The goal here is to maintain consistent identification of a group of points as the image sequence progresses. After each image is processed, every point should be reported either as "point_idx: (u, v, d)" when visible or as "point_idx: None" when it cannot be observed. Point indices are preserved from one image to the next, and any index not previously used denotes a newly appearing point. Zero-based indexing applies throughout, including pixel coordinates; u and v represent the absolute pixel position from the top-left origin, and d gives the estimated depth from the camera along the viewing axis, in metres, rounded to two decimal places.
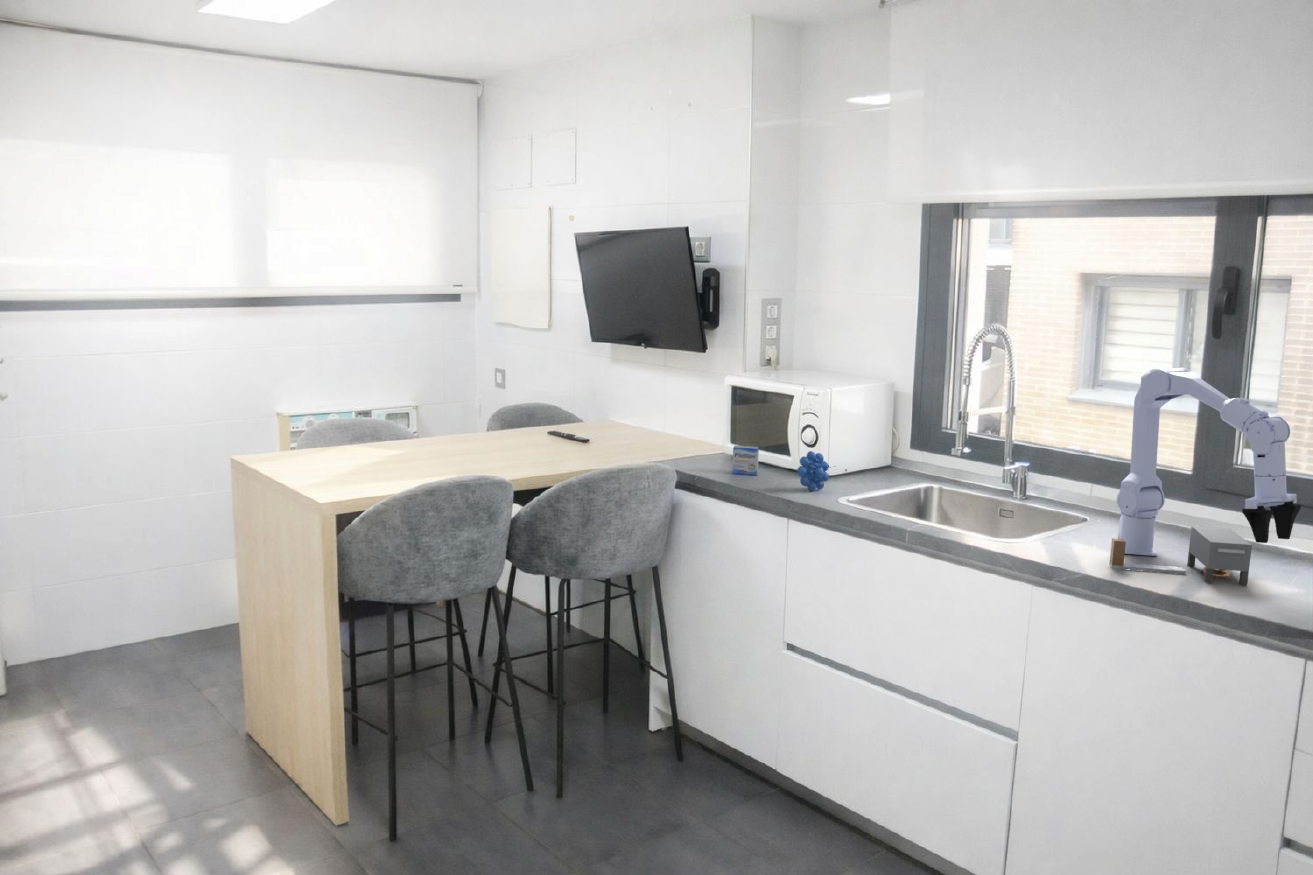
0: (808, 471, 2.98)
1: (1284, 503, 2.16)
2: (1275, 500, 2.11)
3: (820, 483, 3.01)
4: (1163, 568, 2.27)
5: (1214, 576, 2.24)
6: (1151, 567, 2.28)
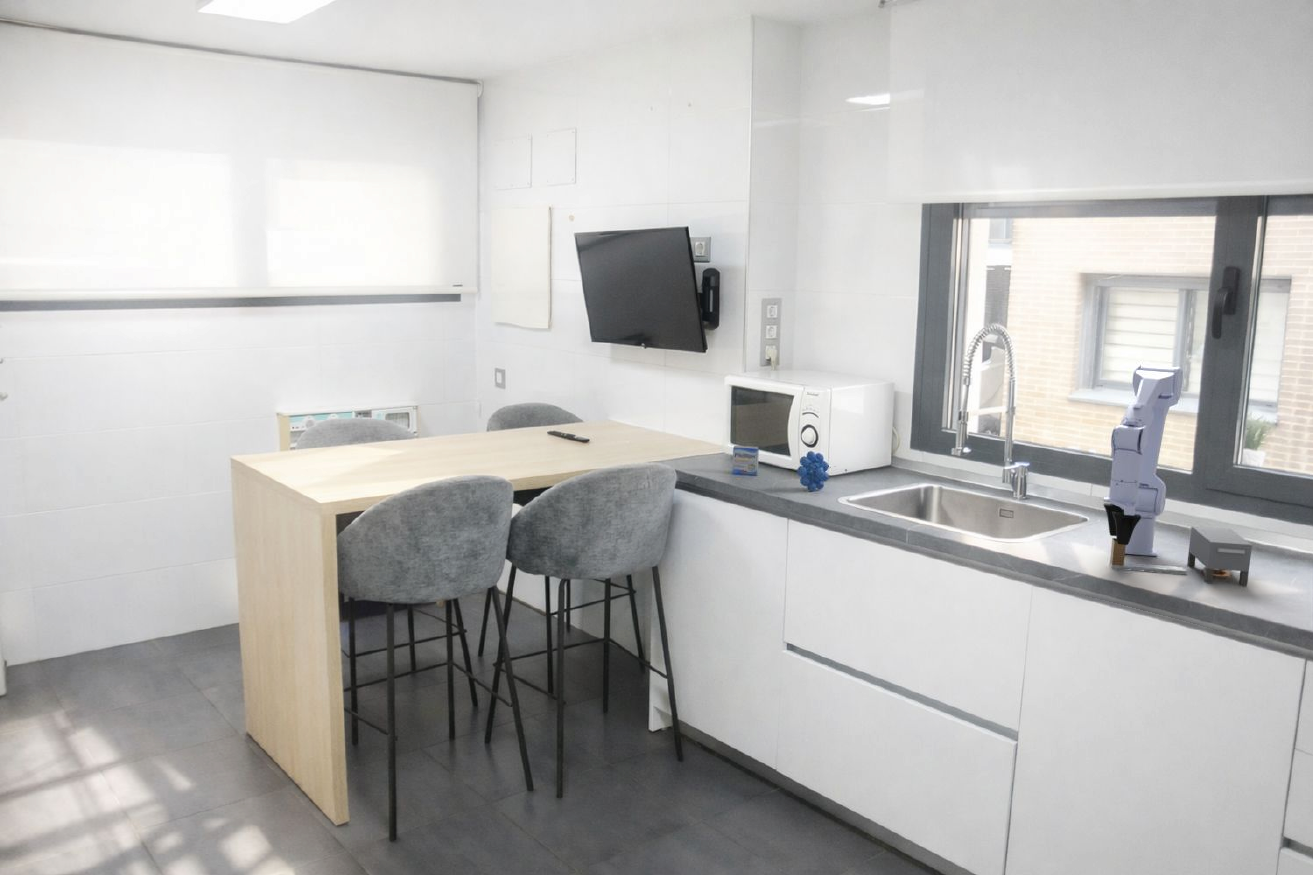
0: (808, 471, 2.98)
1: None
2: None
3: (820, 483, 3.01)
4: (1163, 568, 2.27)
5: (1214, 576, 2.24)
6: (1151, 567, 2.28)
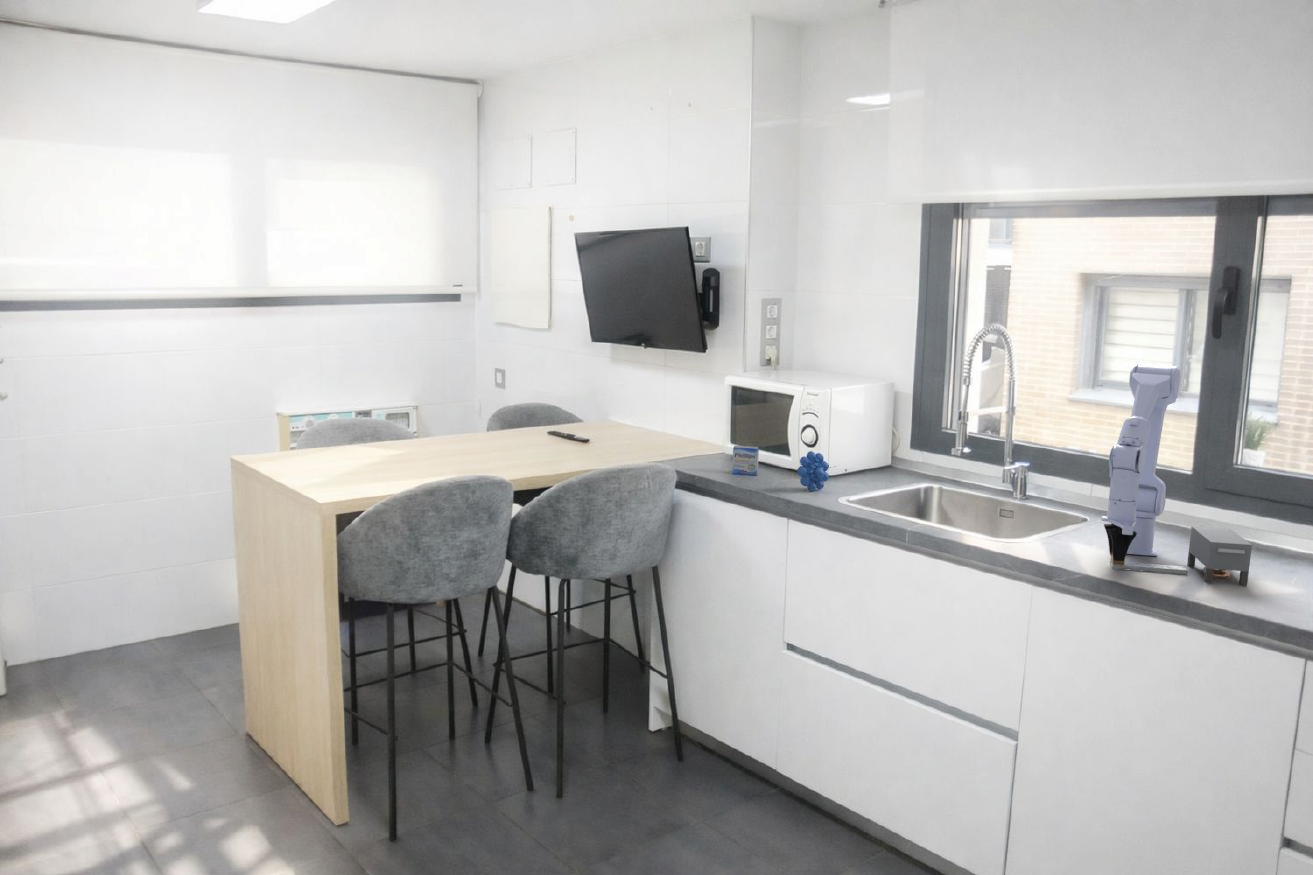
0: (808, 471, 2.98)
1: None
2: None
3: (820, 483, 3.01)
4: (1164, 567, 2.27)
5: (1214, 576, 2.24)
6: (1152, 566, 2.28)
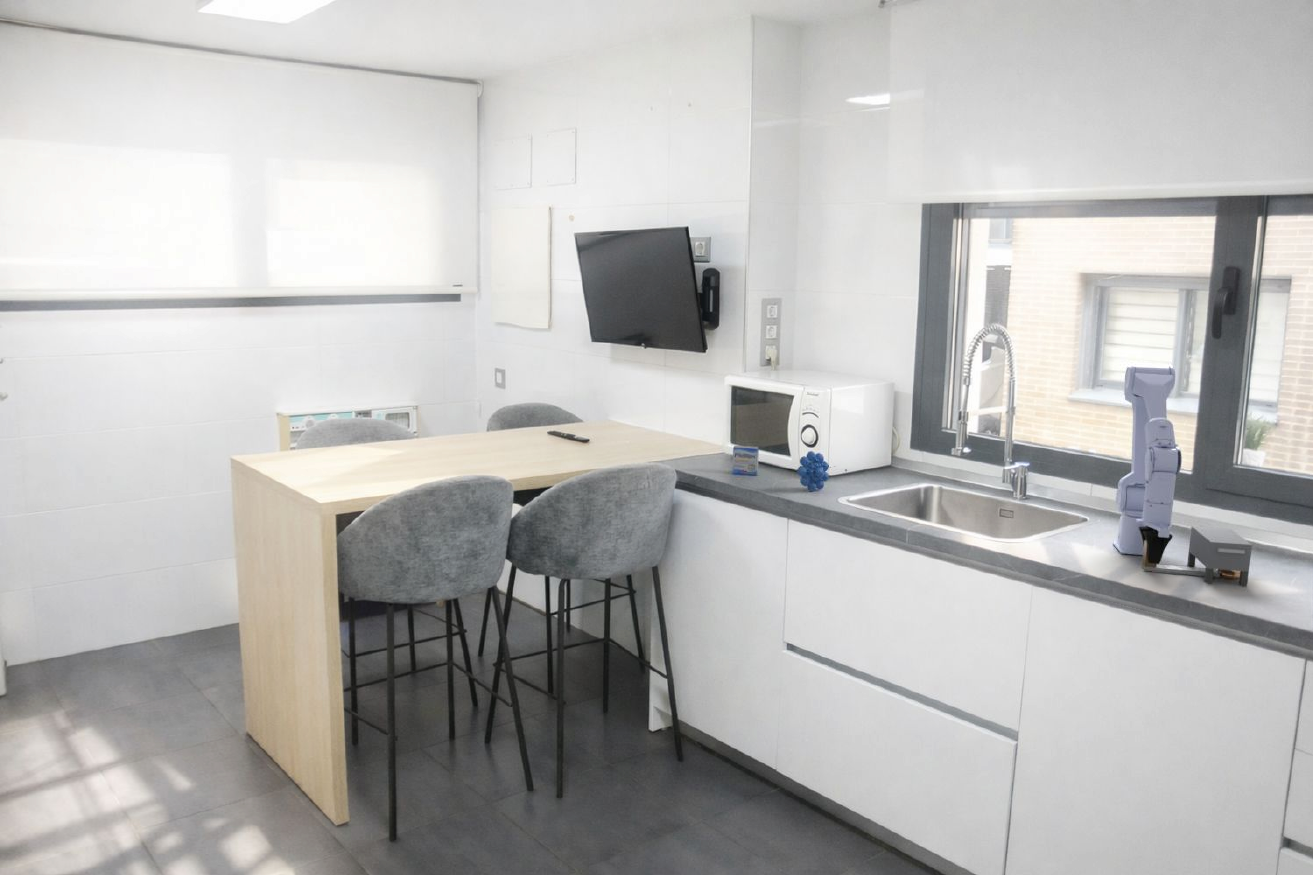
0: (808, 471, 2.98)
1: None
2: None
3: (820, 483, 3.01)
4: (1196, 570, 2.26)
5: (1228, 576, 2.23)
6: (1184, 569, 2.26)
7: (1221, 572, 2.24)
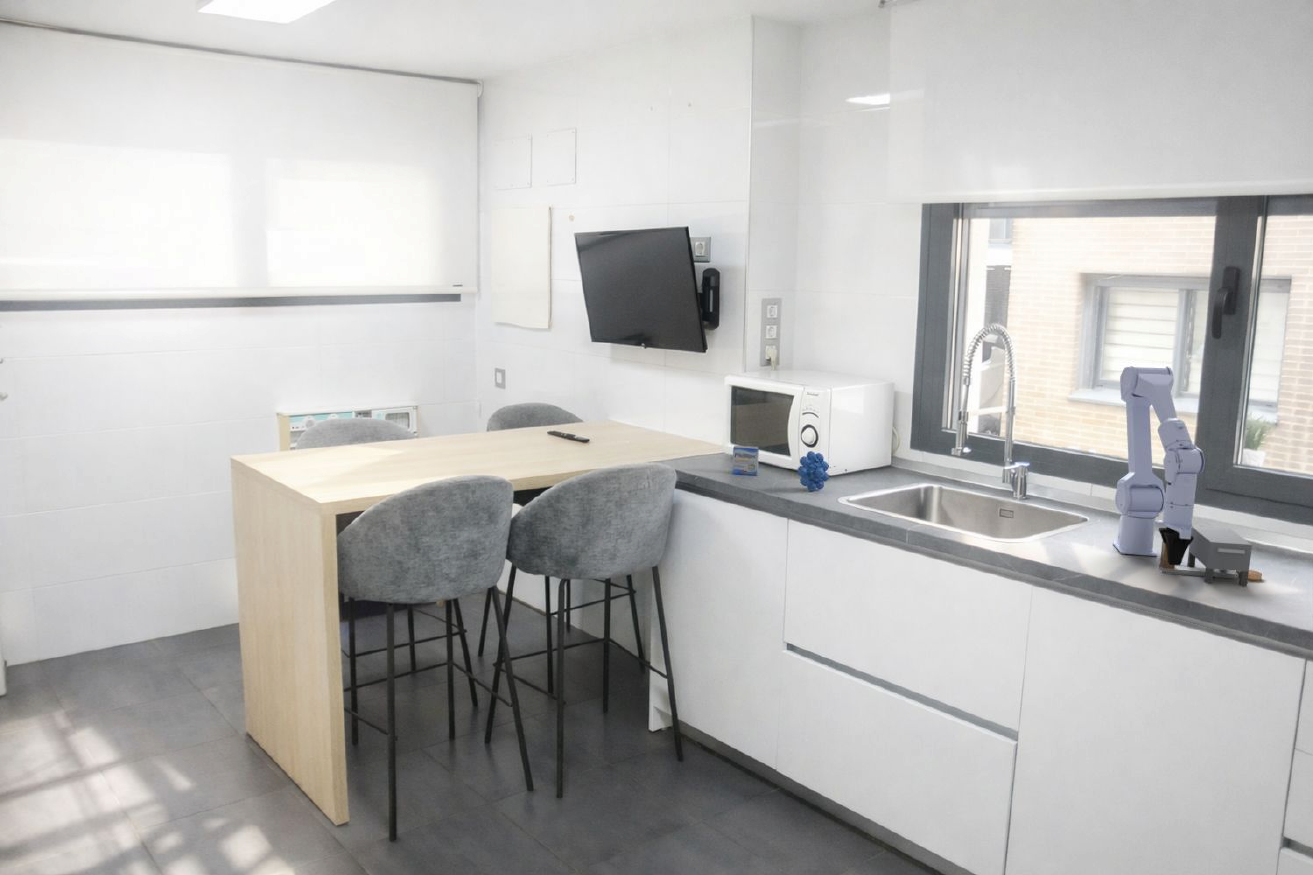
0: (808, 471, 2.98)
1: None
2: None
3: (820, 483, 3.01)
4: (1215, 571, 2.25)
5: None
6: (1202, 570, 2.25)
7: (1239, 574, 2.24)
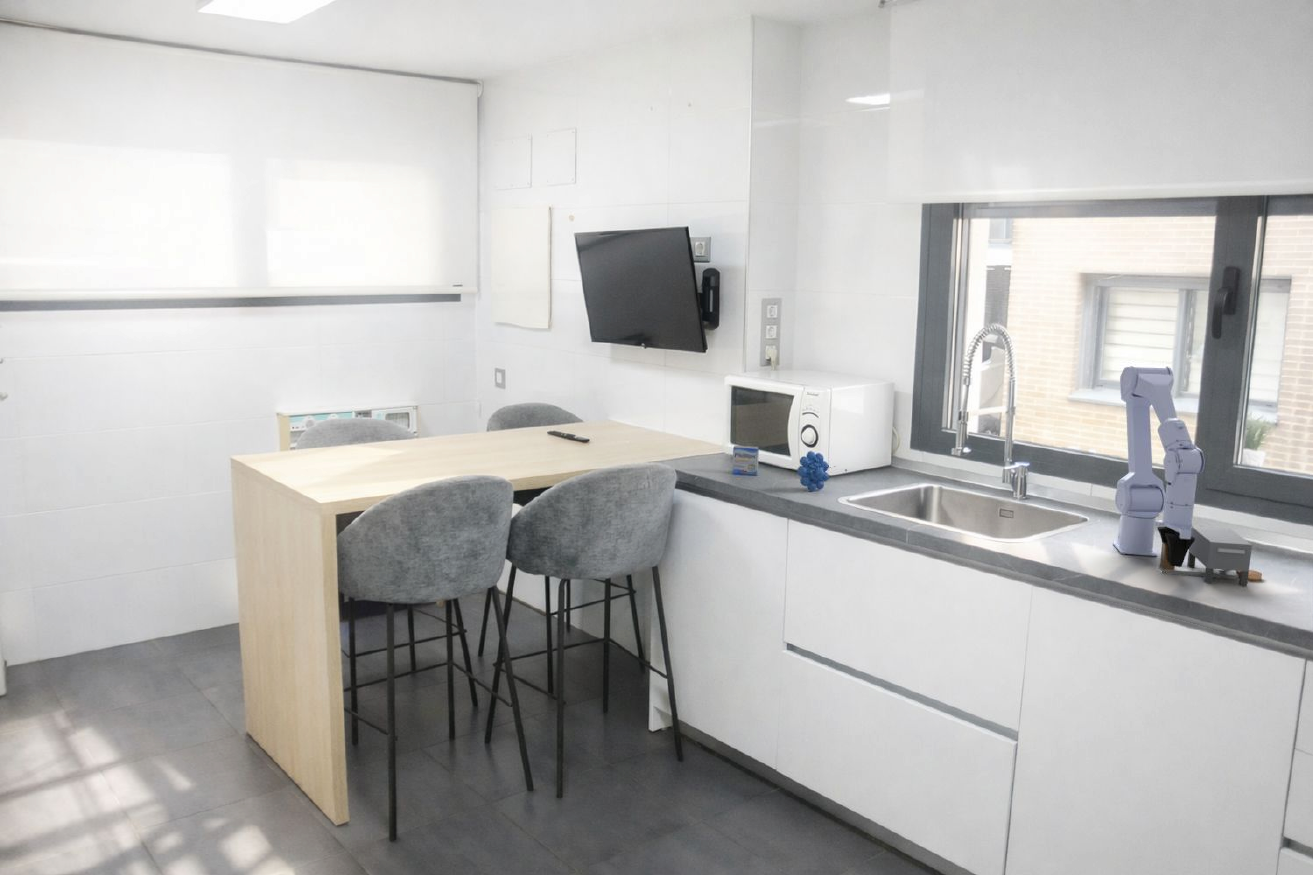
0: (808, 471, 2.98)
1: None
2: None
3: (820, 483, 3.01)
4: (1214, 572, 2.25)
5: None
6: (1202, 571, 2.25)
7: (1239, 574, 2.24)
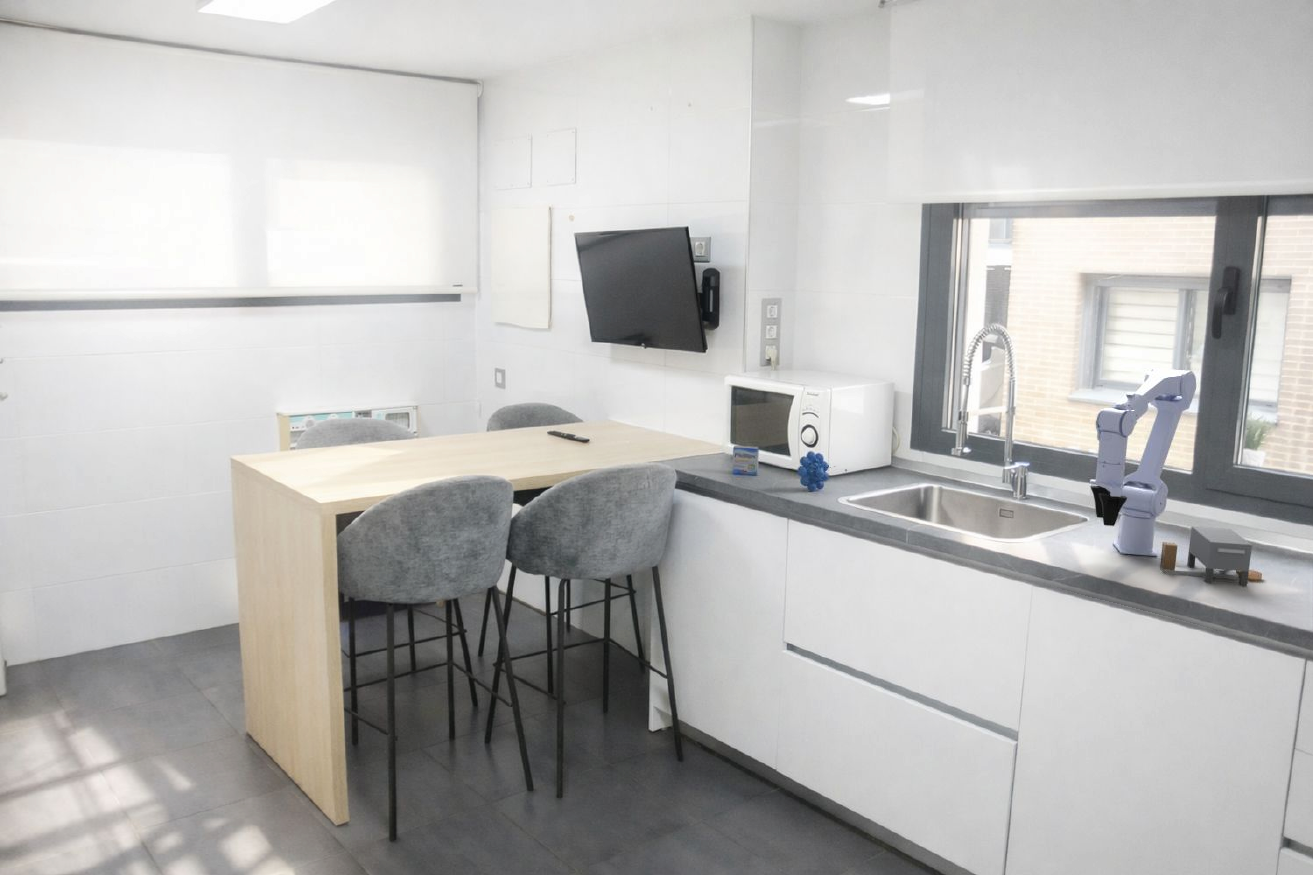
0: (808, 471, 2.98)
1: None
2: None
3: (820, 483, 3.01)
4: (1215, 572, 2.25)
5: None
6: (1203, 571, 2.25)
7: (1239, 574, 2.24)
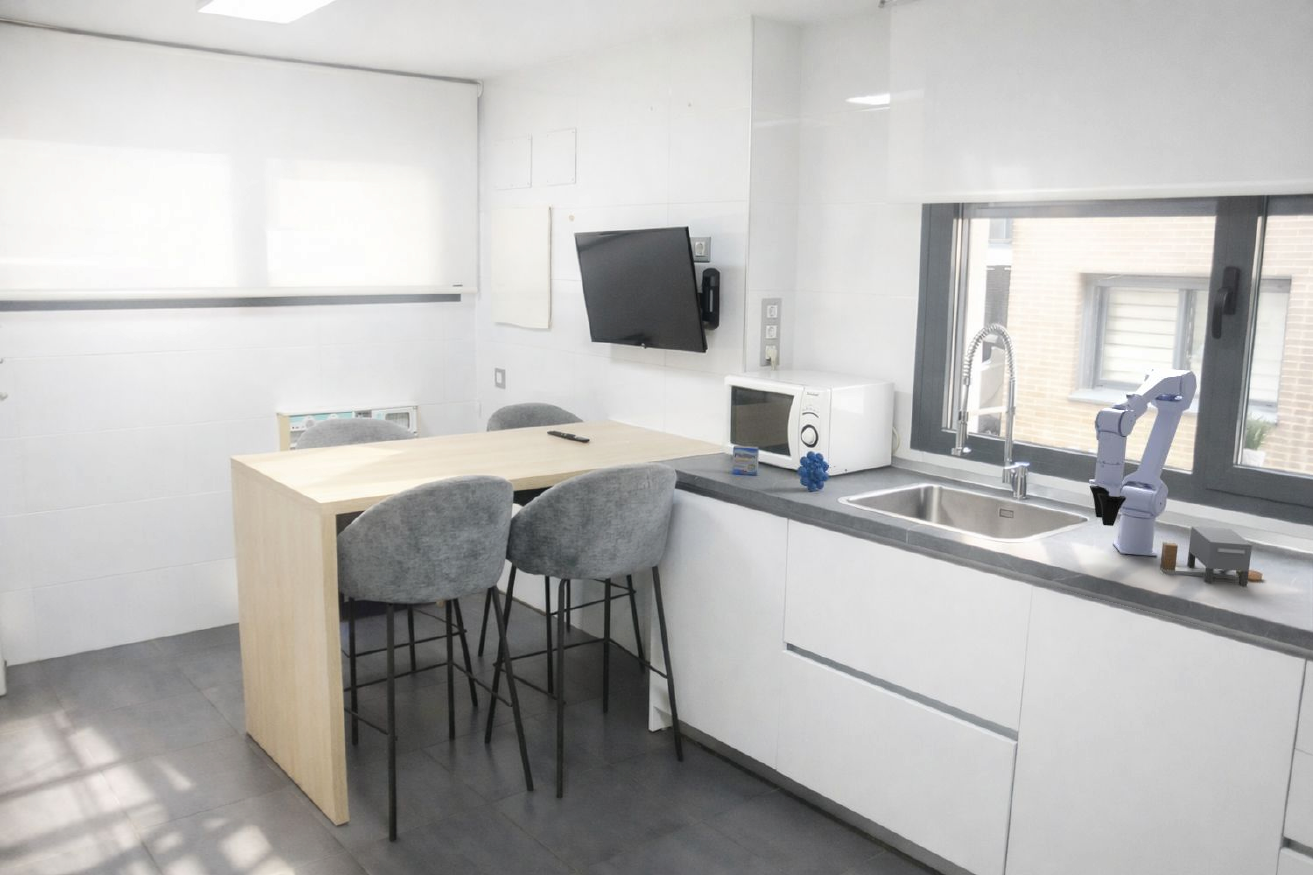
0: (808, 471, 2.98)
1: None
2: None
3: (820, 483, 3.01)
4: (1215, 572, 2.25)
5: None
6: (1203, 571, 2.25)
7: (1239, 574, 2.24)
